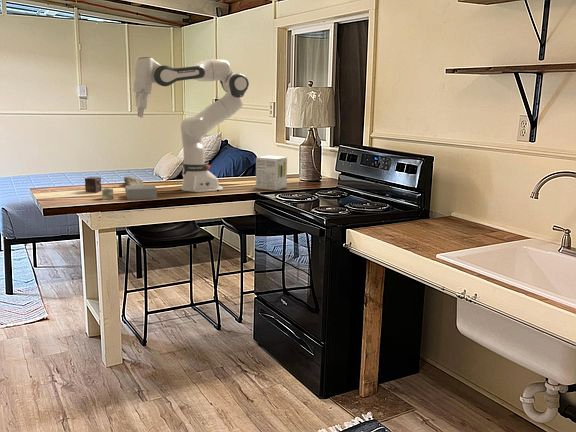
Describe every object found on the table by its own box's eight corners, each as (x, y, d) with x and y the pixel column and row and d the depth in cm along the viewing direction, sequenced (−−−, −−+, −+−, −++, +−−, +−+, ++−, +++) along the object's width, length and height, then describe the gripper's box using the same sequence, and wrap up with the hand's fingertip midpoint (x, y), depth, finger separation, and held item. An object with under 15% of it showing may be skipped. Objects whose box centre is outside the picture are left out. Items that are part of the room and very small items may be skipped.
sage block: (112, 197, 279) (112, 187, 278) (113, 199, 274) (113, 189, 273) (102, 198, 277) (101, 188, 276) (102, 199, 272) (102, 189, 271)
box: (95, 193, 290) (95, 178, 289) (85, 192, 291) (84, 178, 290) (101, 191, 296) (101, 177, 294) (91, 190, 297) (90, 176, 296)
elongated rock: (128, 195, 293) (148, 195, 297) (129, 185, 292) (148, 186, 296) (121, 182, 324) (139, 182, 328) (122, 173, 323) (139, 173, 327)
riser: (153, 194, 289) (153, 184, 288) (157, 198, 278) (156, 188, 277) (125, 195, 284) (125, 185, 283) (127, 199, 273) (127, 189, 272)
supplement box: (276, 190, 308) (276, 158, 305) (255, 188, 314) (255, 157, 311) (287, 187, 320) (287, 156, 316) (266, 185, 326) (267, 155, 322)
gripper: (150, 90, 276) (148, 118, 279) (146, 90, 295) (144, 116, 298) (137, 88, 274) (135, 117, 277) (134, 88, 293) (132, 115, 295)
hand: (140, 116), depth 287 cm, fingers open, 8 cm apart
